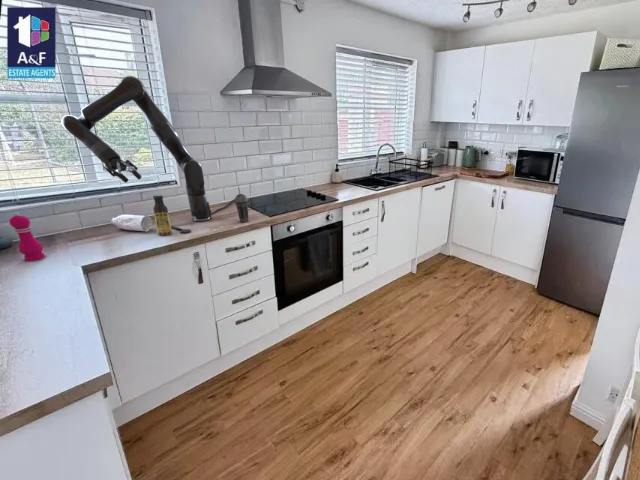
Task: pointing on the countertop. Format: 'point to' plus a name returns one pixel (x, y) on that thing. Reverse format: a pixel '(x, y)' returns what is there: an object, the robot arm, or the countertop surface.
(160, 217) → the sauce bottle
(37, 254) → the pepper mill
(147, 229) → the white bottle
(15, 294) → the countertop surface
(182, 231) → the spoon
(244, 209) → the beverage cup
